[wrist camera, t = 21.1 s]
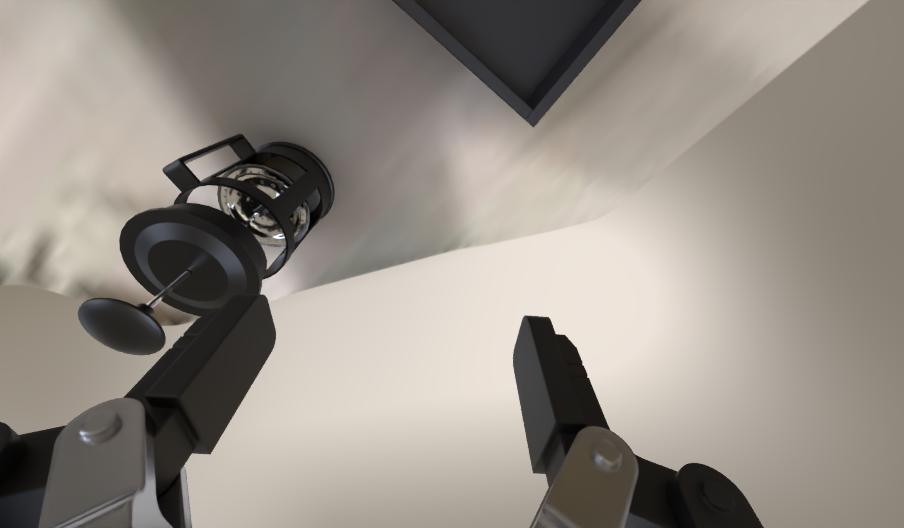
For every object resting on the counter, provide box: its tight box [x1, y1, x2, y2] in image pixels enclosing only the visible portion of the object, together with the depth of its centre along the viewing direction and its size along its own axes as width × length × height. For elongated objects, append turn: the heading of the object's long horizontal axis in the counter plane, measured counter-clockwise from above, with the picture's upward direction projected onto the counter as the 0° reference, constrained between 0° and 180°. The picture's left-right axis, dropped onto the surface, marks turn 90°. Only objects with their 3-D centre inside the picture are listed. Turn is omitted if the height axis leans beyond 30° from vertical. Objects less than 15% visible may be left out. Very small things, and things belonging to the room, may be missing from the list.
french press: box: [78, 134, 334, 355], centre depth 27 cm, size 12×9×23 cm
